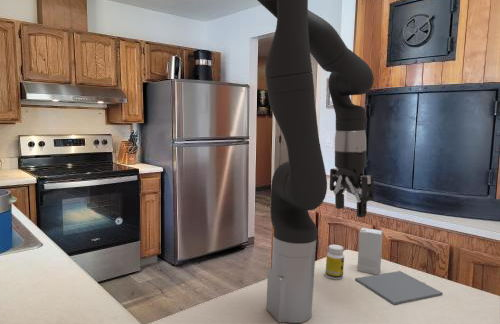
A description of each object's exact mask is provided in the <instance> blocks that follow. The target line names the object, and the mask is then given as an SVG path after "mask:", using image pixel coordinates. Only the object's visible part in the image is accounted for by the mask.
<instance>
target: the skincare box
mask: <svg viewBox="0 0 500 324" xmlns="http://www.w3.org/2000/svg"><path fill="white" fill-rule="evenodd" d="M358 234H359V235H358V253H357V268H356V269H357V272H362V273H367V274H371V275H378V274H381V273H380V272H381V270H382V269H381V264H382V251H383V234H384V231H383V230H379V229H375V228H374V229H372V228H367V227H361V229H360V230H359V232H358Z"/></svg>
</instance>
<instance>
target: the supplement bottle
mask: <svg viewBox="0 0 500 324" xmlns="http://www.w3.org/2000/svg"><path fill="white" fill-rule="evenodd" d="M325 260H326V262H325V263H326V264H325V277H326V278H328V279H331V280H342V279H343V276H344V268H345V267H344V265H345V264H344V263H345V255H344V246H342V245H339V244H330V245H328V250H327V253H326V259H325Z"/></svg>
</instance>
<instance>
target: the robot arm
mask: <svg viewBox="0 0 500 324" xmlns="http://www.w3.org/2000/svg"><path fill="white" fill-rule="evenodd" d="M257 2H259V4H261V6H263V7H264V8H265V9H266V10H267V11H269V13H270V14H272V15H273V16H274V17H275V19H277V20H276V26H275V32H274V35H273V38H272V41H271V44H270V48H269V51H268V54H267V59H266V62H265V83H266V88H267V90H266V91H267V92H266V93H267V97H268V103H269V106H270V109H271V112H272V114H273V117H274V119H275V121H276V123H277V125H278V127H279V129H280V132H281V133H282V136H283V139H284V141H285V145H286V149H287V155H288V156H287V158H288V161H284V162H282V163H281V164H280V165H279V166H278V167H277V168H276V169H275V171H274V173H273V175H272V178H271V185H270V220H271V224H272V227H273V237H272V238H273V239H272V240H273V241H272V258H271V267H269V268H268V269H267V285H266V303H265V304H266V305H265V309H266V310H267V311H268V313H270V315H271V316H272V317H273V318H274V319H275V320H276V322H278V323H289V324H298V323H304V322H306V321H308V320H310V319H311V318H312V314H313V297H314V282H315V281H314V280H315V265H316V251H317V250H316V249H317V237H318V235H317V233H318V227H317V225H316V223H315V222H314V221H313V219H312V218H311V215H310V213H309V211H313V210H316V209H318V208H319V207H320V206H321V205H322V204H323V203H324V200H325V198H326V195H327V190H328V177H327V174H326V168H325V162H324V157H323V153H322V148H321V143H320V137H319V129H318V128H319V127H318V117H317V109H316V102H315V101H316V100H315V99H316V98H315V97H316V96H315V86H314V85H315V84H314V73H313V67H312V58H311V56H312V57H313V59H314V60H315V61H316V62H317V63H318V65H319V66H320V68H321V69H322V70H324V71H326V72H328V73H330V74H329V77H328V82H327V83H328V84H327V85H328V86H327V87H328V92H329V95H330V99H331V102H332V106H333V109H334V113H335V134H334V167H335V168H331V169H330V171H329V190H330V192H332V191H333V194H334V197H335V198H334V200H335V201H334V203H335V209H338V210H340V209H344V207H345V194H344V193H345V191H346V189H347V190H349V191H351V194H352V195H354V197H355V199H356V201H357V202H356V217H358V218H365V217H366V215H367V214H368V213H367V211H368V209H367V208H368V206H367V205H368V204H367V203H368V202H371V201H373V200H374V198H375V195H374V193H375V191H374V176H373V175H372V174H370V175H364V169H365V168H366V167H367V135H366V109H365V107H363V106H361V105H358V104H354V103H353V102H352V100H351V97H350V96H361V95H365V94H367V93H370V91H371V89H372V88H373V86H374V81H375V79H374V78H375V77H374V73H373V71H372V68H371V67H370V65H369V64H368V63H367V62H366V61H365V60H363V59H362V58H361V57H360V56H359V55H358V54H356V53H355V52H354V51H353V50H351V49H349V48H348V46H347V45H346V43H345V42H344V40H343V39H342V37H341V35H340V34H339V33H338V32H337V30H336V29H335V28H334V27H333V25H332V24H330V23H329V22H328V21H327V20H325V19H324V18H322V17H321V16H319V15H317V14H315V12H312V11H311V10H309V6H308V3H309V0H257Z"/></svg>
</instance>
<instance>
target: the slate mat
mask: <svg viewBox="0 0 500 324" xmlns="http://www.w3.org/2000/svg"><path fill="white" fill-rule="evenodd" d="M354 280H355V281H356V282H357V283H359V284H360V285H361V286H363V287H365V288H366V289H368V290H370V291H371V292H373V293H374V294H375V295H378V296H379V297H380V298H382V299H384V300H385V301H387V302H388V303H390V304H391V305H392V306H397V305H402V304H406V303H410V302H411V303H412V302H416V301H420V300H421V301H422V300H425V299H430V298H435V297H438V296H440V297H441V296H443V292H442V291H440V290H438V289H436V288H434V287H432V286H430V285H428V284H426V283H425V282H422V281H420V280H419V279H416V278H415V277H412V275H409V274H407V273H405V272H403V271H401V270H398V271H392V272H385V273H379V274H378V275H376V274H371V275H366V276H361V277H355V279H354Z"/></svg>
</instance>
